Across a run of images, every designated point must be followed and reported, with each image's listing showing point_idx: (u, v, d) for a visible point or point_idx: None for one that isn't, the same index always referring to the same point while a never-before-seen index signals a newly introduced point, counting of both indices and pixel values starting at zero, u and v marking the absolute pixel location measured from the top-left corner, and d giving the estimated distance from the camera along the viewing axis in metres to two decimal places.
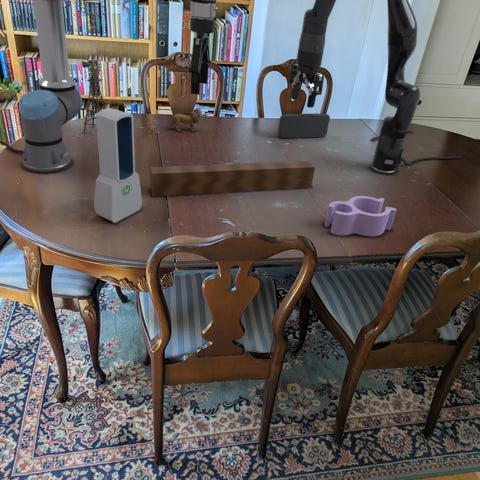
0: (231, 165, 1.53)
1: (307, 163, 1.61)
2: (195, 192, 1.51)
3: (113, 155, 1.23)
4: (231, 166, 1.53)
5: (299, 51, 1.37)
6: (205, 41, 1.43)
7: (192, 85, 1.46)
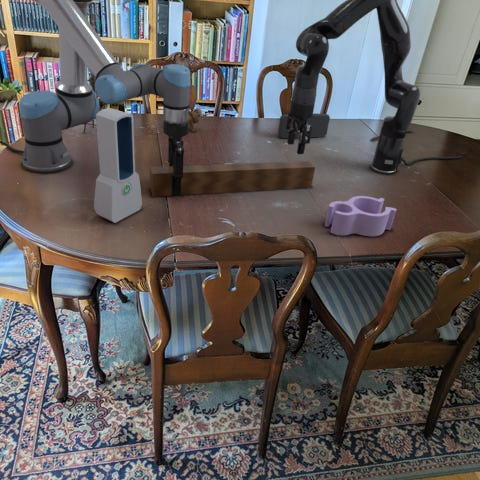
0: (231, 165, 1.53)
1: (307, 163, 1.61)
2: (195, 192, 1.51)
3: (113, 155, 1.23)
4: (231, 166, 1.53)
5: (291, 102, 1.46)
6: (182, 142, 1.41)
7: (173, 187, 1.47)
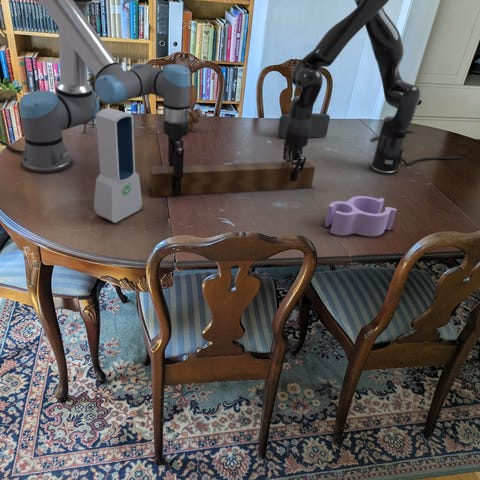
0: (231, 165, 1.53)
1: (307, 163, 1.61)
2: (195, 192, 1.51)
3: (113, 155, 1.23)
4: (231, 166, 1.53)
5: (286, 131, 1.52)
6: (182, 142, 1.41)
7: (173, 187, 1.47)
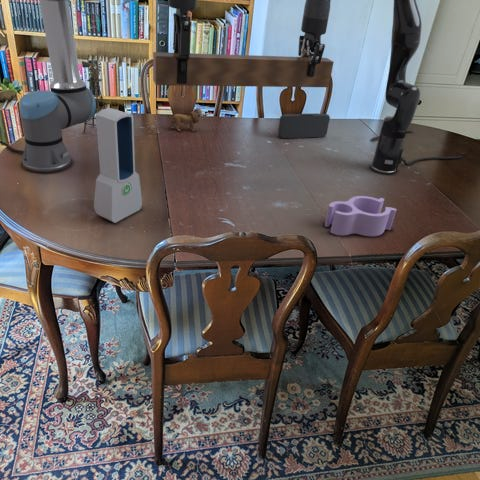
0: (242, 55, 1.39)
1: (325, 59, 1.47)
2: (203, 83, 1.37)
3: (113, 155, 1.23)
4: (241, 56, 1.39)
5: (303, 17, 1.38)
6: (189, 18, 1.26)
7: (179, 74, 1.32)
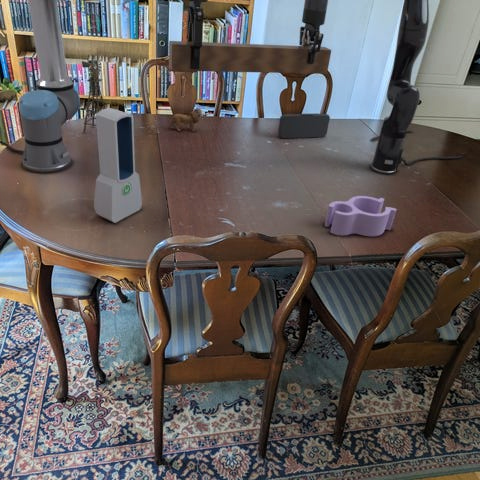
0: (249, 44, 1.54)
1: (323, 48, 1.62)
2: (213, 69, 1.51)
3: (113, 155, 1.23)
4: (248, 45, 1.53)
5: (304, 9, 1.53)
6: (201, 10, 1.41)
7: (192, 60, 1.47)
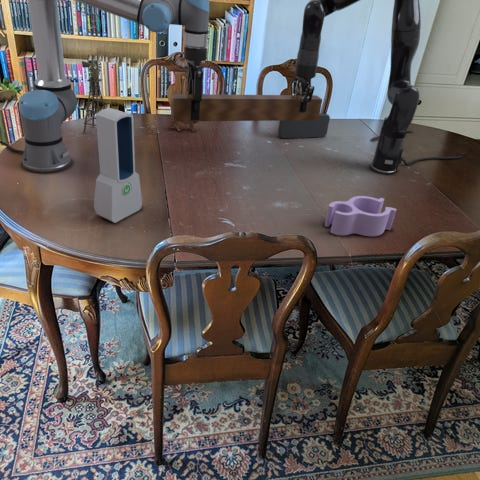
0: (245, 95, 1.66)
1: (315, 96, 1.74)
2: (212, 119, 1.64)
3: (113, 155, 1.23)
4: (245, 96, 1.66)
5: (296, 64, 1.65)
6: (201, 68, 1.53)
7: (192, 112, 1.59)
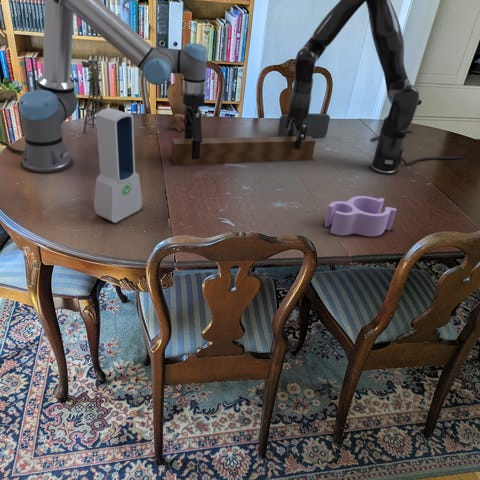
0: (242, 138, 1.75)
1: (308, 138, 1.82)
2: (211, 162, 1.72)
3: (113, 155, 1.23)
4: (242, 139, 1.74)
5: (289, 105, 1.73)
6: (198, 112, 1.61)
7: (193, 152, 1.64)
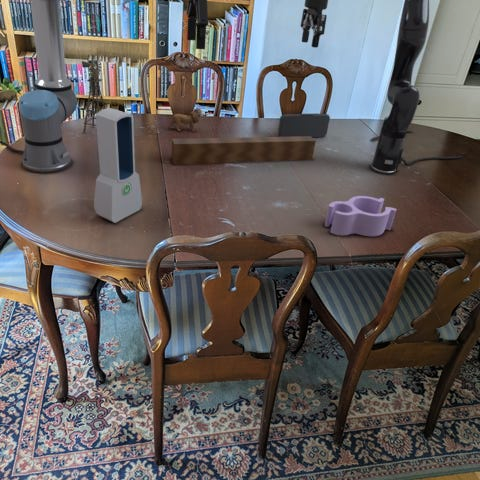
0: (242, 138, 1.75)
1: (308, 137, 1.82)
2: (211, 162, 1.72)
3: (113, 155, 1.23)
4: (242, 139, 1.74)
5: None
6: None
7: (198, 40, 1.43)
